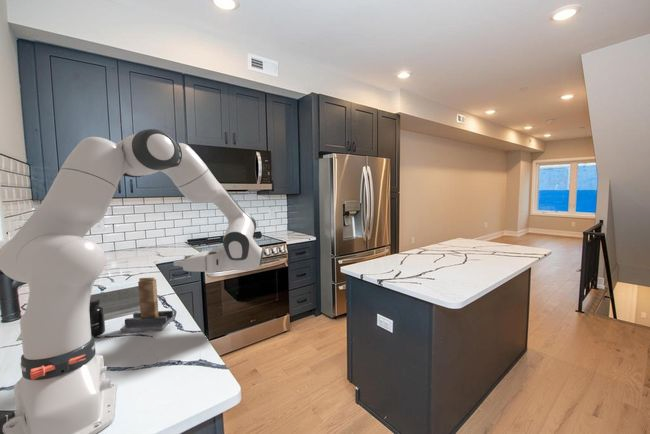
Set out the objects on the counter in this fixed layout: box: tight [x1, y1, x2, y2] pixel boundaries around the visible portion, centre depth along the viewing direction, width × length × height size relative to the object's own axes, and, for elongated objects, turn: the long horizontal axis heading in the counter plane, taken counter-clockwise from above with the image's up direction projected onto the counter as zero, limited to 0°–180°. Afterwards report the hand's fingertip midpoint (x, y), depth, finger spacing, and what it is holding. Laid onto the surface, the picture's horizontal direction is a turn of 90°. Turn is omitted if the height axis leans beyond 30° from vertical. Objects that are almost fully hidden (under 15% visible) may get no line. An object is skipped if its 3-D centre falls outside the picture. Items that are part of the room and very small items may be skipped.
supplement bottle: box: [89, 298, 106, 338], centre depth 99 cm, size 7×7×12 cm
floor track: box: [119, 310, 176, 334], centre depth 105 cm, size 14×10×4 cm
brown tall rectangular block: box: [137, 276, 159, 318], centre depth 105 cm, size 5×2×16 cm, turn 95°
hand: (180, 260), depth 105 cm, fingers open, 8 cm apart
